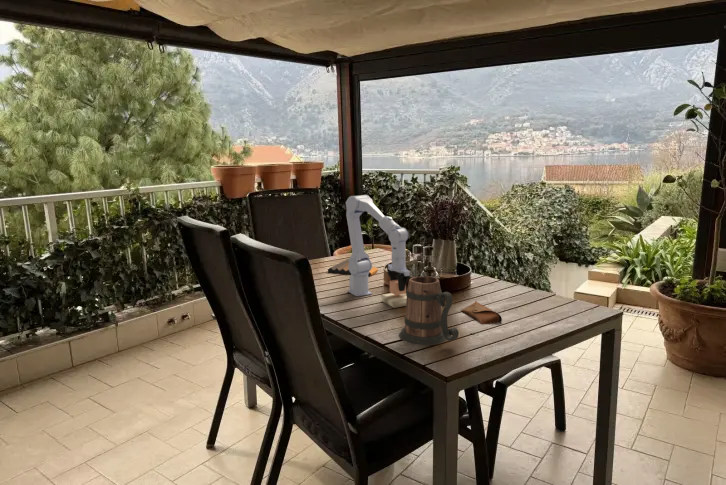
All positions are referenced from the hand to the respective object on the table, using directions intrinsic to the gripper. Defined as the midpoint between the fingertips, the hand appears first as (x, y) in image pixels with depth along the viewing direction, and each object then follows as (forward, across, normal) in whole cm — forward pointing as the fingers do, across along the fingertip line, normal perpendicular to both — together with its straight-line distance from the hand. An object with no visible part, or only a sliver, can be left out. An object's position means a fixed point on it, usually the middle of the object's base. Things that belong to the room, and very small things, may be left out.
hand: (398, 289), depth 204 cm
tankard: (+6, +40, -11) cm, 42 cm away
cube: (+2, 0, 0) cm, 2 cm away
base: (+6, 0, 0) cm, 6 cm away
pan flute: (+7, -63, +12) cm, 64 cm away
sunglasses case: (+7, +29, +19) cm, 36 cm away
